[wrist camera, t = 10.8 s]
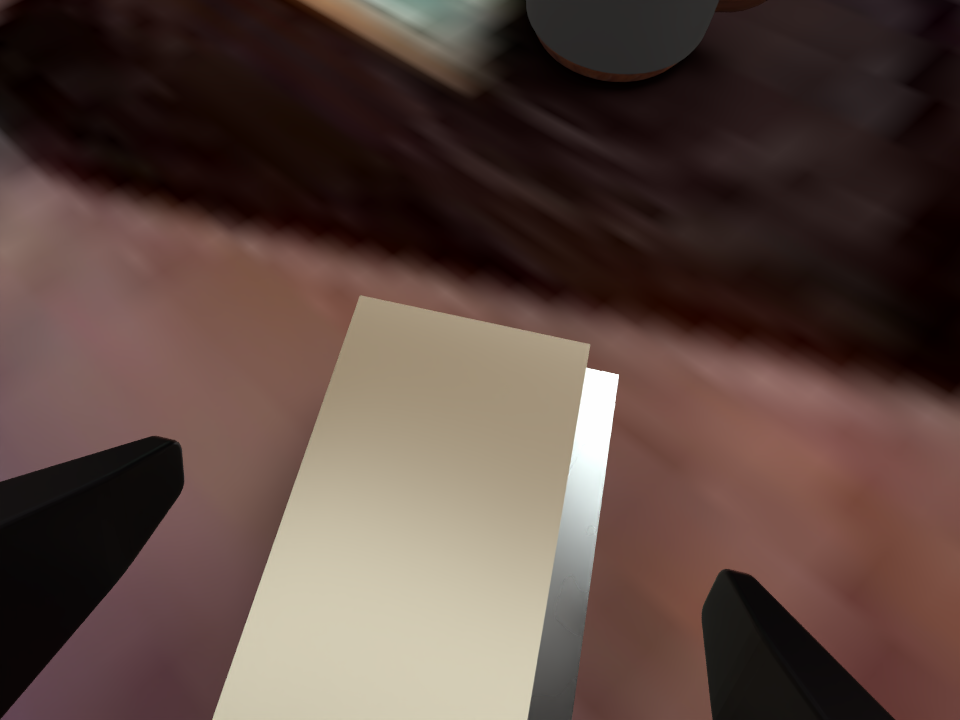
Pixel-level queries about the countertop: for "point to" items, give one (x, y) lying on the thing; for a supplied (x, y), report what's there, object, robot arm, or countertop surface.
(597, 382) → the grey channel bracket
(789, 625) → the robot arm
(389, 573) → the ash slab
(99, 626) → the countertop surface
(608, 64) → the mug
